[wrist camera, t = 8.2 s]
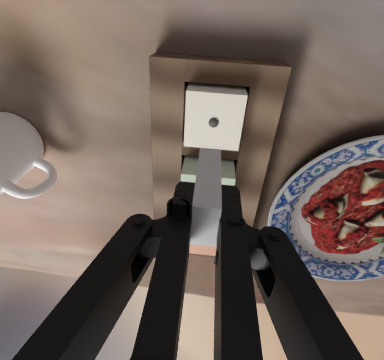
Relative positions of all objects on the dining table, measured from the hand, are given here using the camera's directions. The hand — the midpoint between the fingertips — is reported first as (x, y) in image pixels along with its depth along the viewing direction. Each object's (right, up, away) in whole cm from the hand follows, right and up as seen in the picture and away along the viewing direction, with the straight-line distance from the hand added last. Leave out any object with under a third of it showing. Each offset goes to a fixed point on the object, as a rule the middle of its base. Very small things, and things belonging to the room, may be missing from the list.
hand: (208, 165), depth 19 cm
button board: (+1, 0, +17) cm, 17 cm away
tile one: (+1, +7, +12) cm, 14 cm away
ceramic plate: (+23, -6, +19) cm, 30 cm away
